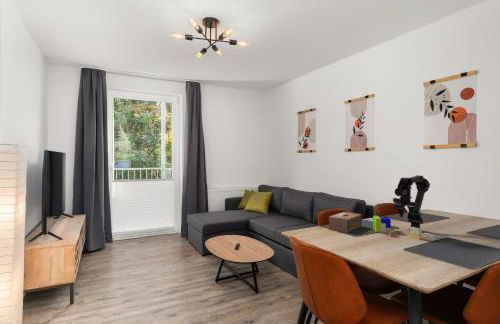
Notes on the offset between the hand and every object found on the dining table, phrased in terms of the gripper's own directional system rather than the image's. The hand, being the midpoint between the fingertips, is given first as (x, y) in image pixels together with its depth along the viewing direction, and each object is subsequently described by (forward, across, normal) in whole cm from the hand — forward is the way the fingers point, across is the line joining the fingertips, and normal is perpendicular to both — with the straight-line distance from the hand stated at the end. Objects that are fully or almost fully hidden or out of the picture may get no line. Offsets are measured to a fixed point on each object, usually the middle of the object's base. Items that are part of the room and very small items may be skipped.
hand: (405, 216), depth 205 cm
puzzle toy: (+12, +9, -13) cm, 20 cm away
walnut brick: (+12, +14, -2) cm, 19 cm away
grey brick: (+12, -1, +16) cm, 20 cm away
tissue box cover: (+12, +27, -31) cm, 43 cm away
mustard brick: (+12, +5, +11) cm, 17 cm away
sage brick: (+9, +5, +11) cm, 15 cm away
